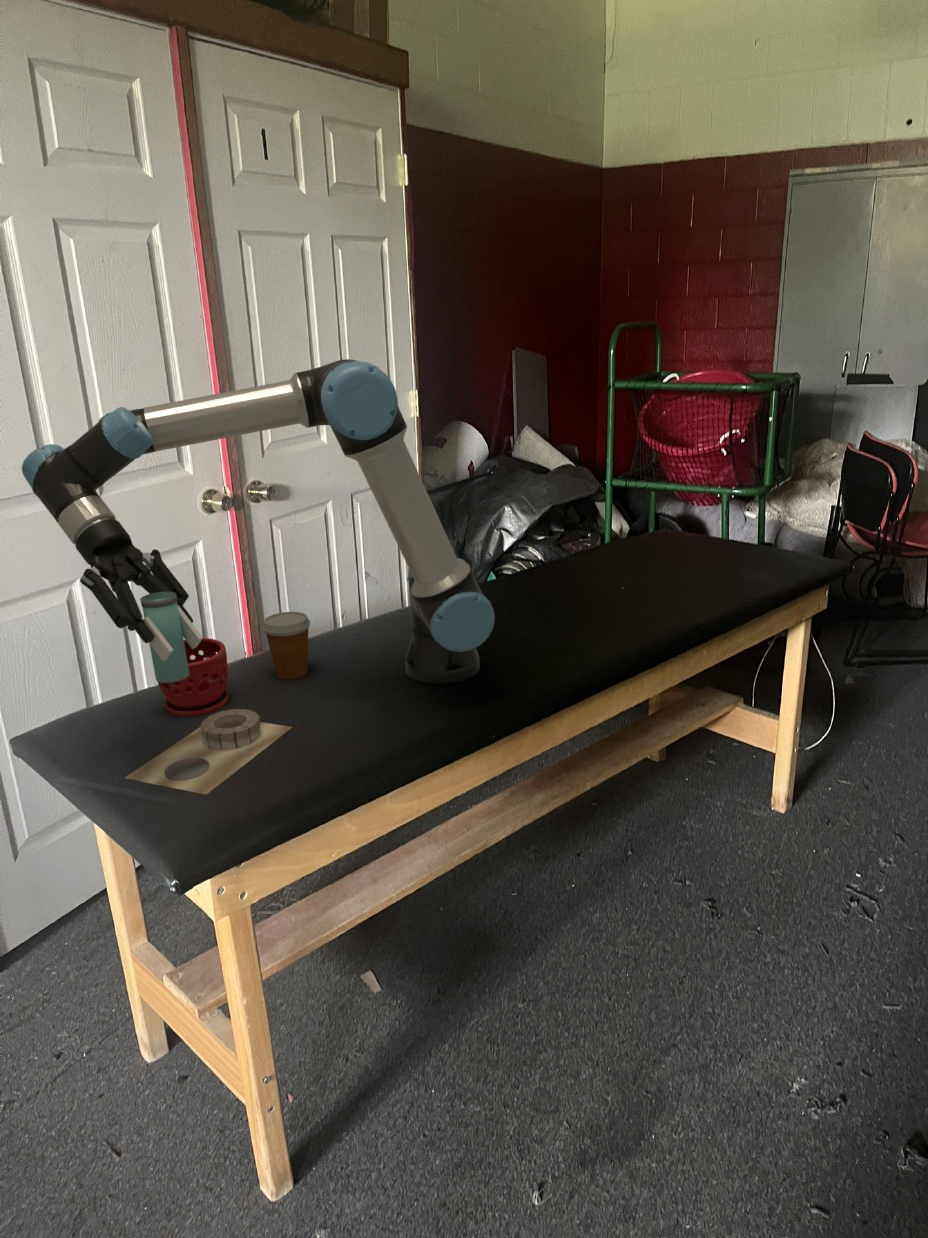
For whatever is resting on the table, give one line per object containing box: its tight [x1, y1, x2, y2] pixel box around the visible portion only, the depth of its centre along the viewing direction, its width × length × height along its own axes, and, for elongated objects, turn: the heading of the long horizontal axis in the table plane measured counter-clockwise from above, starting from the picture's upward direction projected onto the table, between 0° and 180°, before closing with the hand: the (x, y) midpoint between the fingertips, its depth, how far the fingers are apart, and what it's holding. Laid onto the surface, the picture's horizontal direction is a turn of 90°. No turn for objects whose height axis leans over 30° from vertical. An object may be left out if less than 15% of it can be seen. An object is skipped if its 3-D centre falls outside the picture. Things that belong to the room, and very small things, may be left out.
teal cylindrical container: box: [139, 592, 189, 683], centre depth 135 cm, size 5×5×13 cm
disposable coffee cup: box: [262, 611, 311, 680], centre depth 179 cm, size 10×10×12 cm
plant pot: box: [156, 637, 230, 717], centre depth 165 cm, size 13×13×12 cm
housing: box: [124, 708, 293, 796], centre depth 148 cm, size 16×24×4 cm, turn 158°
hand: (183, 649), depth 134 cm, fingers closed on teal cylindrical container, 5 cm apart
